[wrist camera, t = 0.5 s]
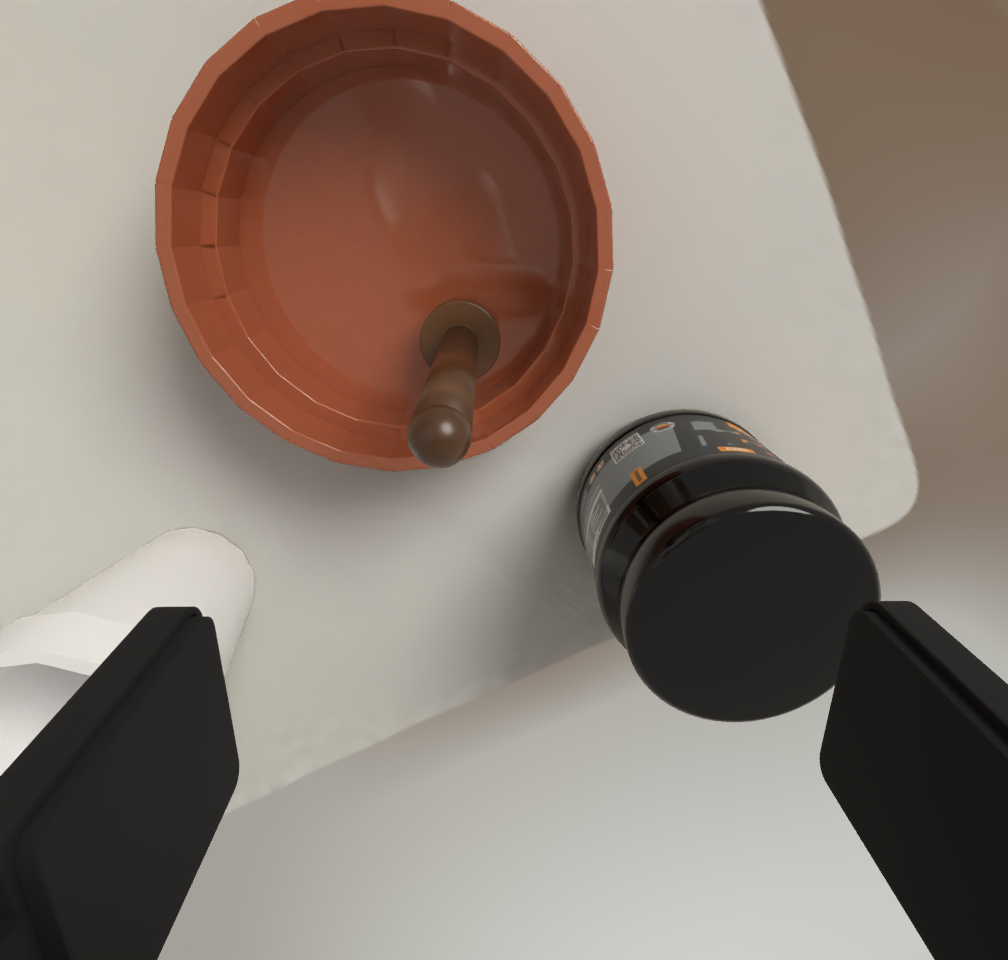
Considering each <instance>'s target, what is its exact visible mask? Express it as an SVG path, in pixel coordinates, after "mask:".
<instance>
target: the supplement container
mask: <svg viewBox="0 0 1008 960" xmlns="http://www.w3.org/2000/svg"><path fill="white" fill-rule="evenodd" d="M576 519H577V526H578V531H579V535H580V538H581V541H582V544H583V546H584V549H585V550H586V552H587V556H588V559H589V562H590V565H591V568H592V572H593V575H594V578H595V581H596V590H597V597H598V600H599V604H600V608H601V611H602V613H603V616H604V618H605V621H606V623H607V624H608V626H609V628H610V630H611V631H612V633H613V634H614V636H615V637H616V639H617V640H618V641H619V642H620V643H621V644H622V645H623V647H624V648H625V649H627V651H628V654H629V656H630V659H631V662H632V664H633V666H634V668H635V670H636V672H637V673H638V675H639V677H640V678H641V679H642V680H643V682H644V683H645V684H646V686H647V687H648V688H649V689H650V690H651V691H652V692H653V693H654V694H655V695H656V696H658V697H659V698H660V699H661V700H663V701H665V702H666V703H667V704H669V705H670V706H672V707H674V708H676V709H678V710H680V711H682V712H684V713H687V714H689V715H693V716H696V717H699V718H703V719H708V720H714V721H722V722H748V721H756V720H762V719H767V718H771V717H775V716H778V715H781V714H785V713H788V712H790V711H793V710H795V709H798V708H800V707H802V706H804V705H806V704H808V703H810V702H812V701H813V700H815V699H817V698H818V697H820V696H821V695H823V694H824V693H826V692H827V691H828V690H830V689H831V688H832V687H833V686H835V684H836V679H837V675H838V670H839V666H840V661H841V657H842V652H843V648H844V643H845V639H846V634H847V630H848V626H849V621H850V618H851V616H852V615H853V613H855V612H857V611H861V608H862V607H863V606H864V604H865V603H867V602H870V601H881V590H880V581H879V576H878V572H877V569H876V566H875V563H874V560H873V558H872V556H871V555H870V552H869V551H868V549H867V548H866V546H865V545H864V543H863V542H862V541H861V539H860V538H859V537H858V536H857V535H856V534H855V533H854V532H853V531H852V530H851V529H850V528H849V527H847V526H846V525H845V524H844V523H843V521H842V518H841V516H840V514H839V512H838V510H837V508H836V507H835V505H834V504H833V502H832V501H831V499H830V498H829V496H828V495H827V494H826V493H825V492H824V491H823V490H822V488H821V487H820V486H819V485H817V484H816V483H815V482H814V481H813V480H812V479H810V478H809V477H808V476H806V475H805V474H803V473H802V472H801V471H799V470H798V469H796V468H794V467H792V466H790V465H788V464H786V463H785V462H783V461H782V460H781V459H779V458H778V457H777V456H776V455H774V454H773V453H772V452H771V451H769V450H768V449H767V448H765V447H764V446H763V445H762V444H760V443H759V442H758V441H757V439H756V438H755V437H754V436H752V435H751V434H750V433H749V432H748V431H747V430H745V429H744V428H743V427H741V426H740V425H738V424H737V423H735V422H733V421H731V420H729V419H727V418H725V417H722V416H720V415H717V414H713V413H710V412H706V411H699V410H688V409H681V410H669V411H663V412H659V413H655V414H651V415H648V416H646V417H643V418H640V419H638V420H636V421H634V422H632V423H630V424H629V425H627V426H625V427H624V428H622V429H621V430H619V431H618V432H617V433H615V434H614V435H613V436H612V437H611V438H610V439H608V440H607V441H606V442H605V443H604V444H603V446H602V447H601V448H600V449H599V450H598V451H597V453H596V454H595V455H594V457H593V458H592V460H591V461H590V463H589V465H588V467H587V468H586V471H585V473H584V475H583V477H582V480H581V483H580V486H579V490H578V495H577V503H576Z"/></svg>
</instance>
